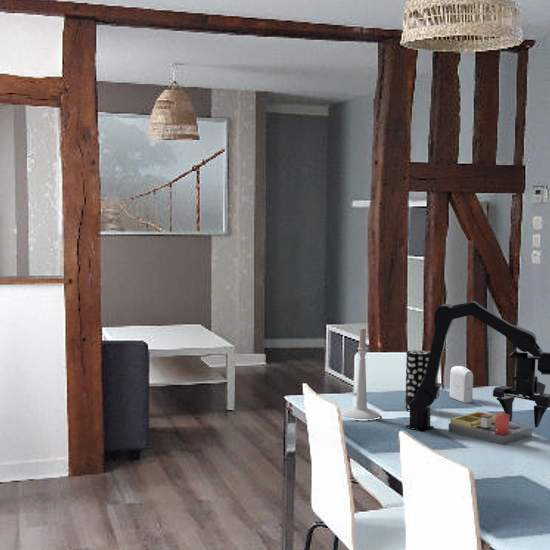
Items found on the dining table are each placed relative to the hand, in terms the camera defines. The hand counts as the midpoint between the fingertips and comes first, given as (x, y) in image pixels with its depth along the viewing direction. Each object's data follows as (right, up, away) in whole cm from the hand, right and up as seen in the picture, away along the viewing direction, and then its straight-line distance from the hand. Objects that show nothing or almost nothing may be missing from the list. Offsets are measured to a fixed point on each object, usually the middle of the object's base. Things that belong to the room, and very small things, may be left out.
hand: (523, 424), depth 252 cm
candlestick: (-46, -2, +25) cm, 53 cm away
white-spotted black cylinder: (-26, -2, +35) cm, 44 cm away
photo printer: (-7, -1, +52) cm, 52 cm away
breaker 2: (-4, -1, +5) cm, 7 cm away
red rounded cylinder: (-8, -2, -5) cm, 9 cm away
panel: (-9, -4, +5) cm, 11 cm away
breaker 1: (-11, -1, +2) cm, 11 cm away
